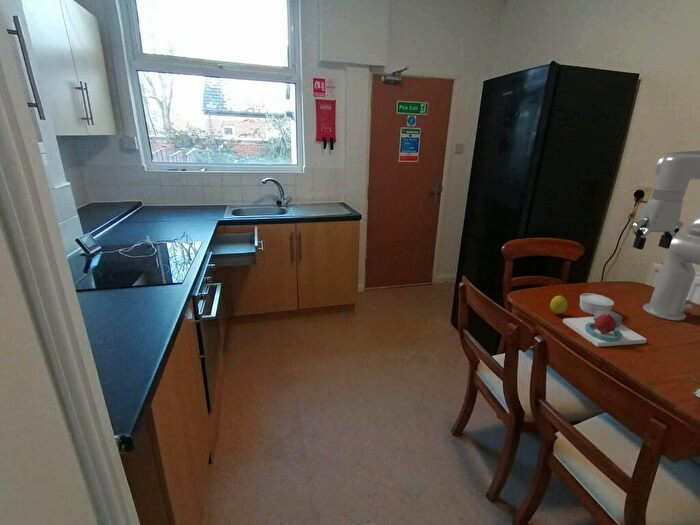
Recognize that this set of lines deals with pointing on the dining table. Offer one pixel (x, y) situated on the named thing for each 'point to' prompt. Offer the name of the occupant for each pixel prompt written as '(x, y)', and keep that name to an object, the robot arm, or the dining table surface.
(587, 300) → the ramekin
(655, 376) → the dining table surface
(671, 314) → the robot arm
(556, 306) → the lemon
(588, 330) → the carrier plate
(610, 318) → the pomegranate
